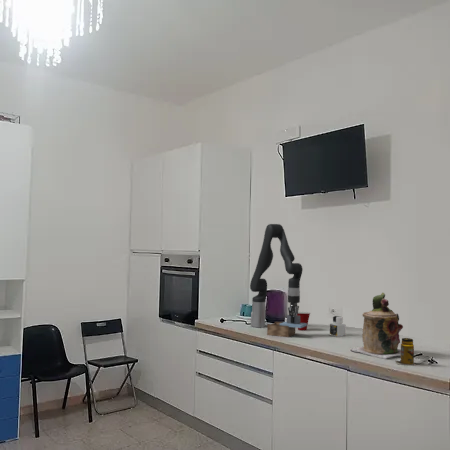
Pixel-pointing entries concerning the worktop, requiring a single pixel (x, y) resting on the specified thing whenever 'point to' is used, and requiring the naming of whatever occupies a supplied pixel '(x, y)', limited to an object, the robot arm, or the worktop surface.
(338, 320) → the medicine bottle
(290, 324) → the cover plate
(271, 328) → the wooden box
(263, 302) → the robot arm
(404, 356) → the condiment
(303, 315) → the plastic cup
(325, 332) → the worktop surface
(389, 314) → the cookie jar
